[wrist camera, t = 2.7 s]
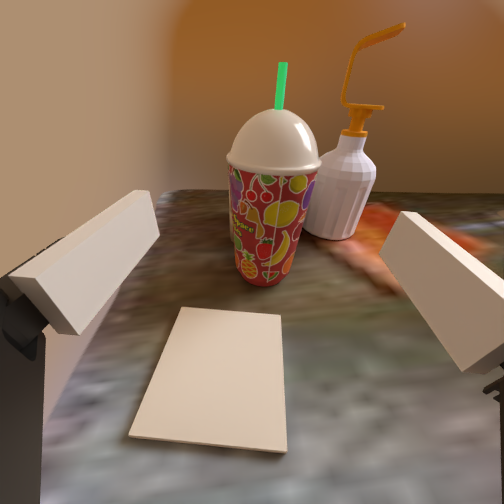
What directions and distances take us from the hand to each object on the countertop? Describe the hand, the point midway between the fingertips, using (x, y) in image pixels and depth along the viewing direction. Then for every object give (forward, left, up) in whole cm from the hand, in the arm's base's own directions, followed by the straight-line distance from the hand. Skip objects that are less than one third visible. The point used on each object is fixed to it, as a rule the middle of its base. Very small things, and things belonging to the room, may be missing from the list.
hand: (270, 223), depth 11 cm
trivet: (+3, +2, -12) cm, 13 cm away
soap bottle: (-11, -23, -13) cm, 28 cm away
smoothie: (0, -10, -13) cm, 16 cm away
